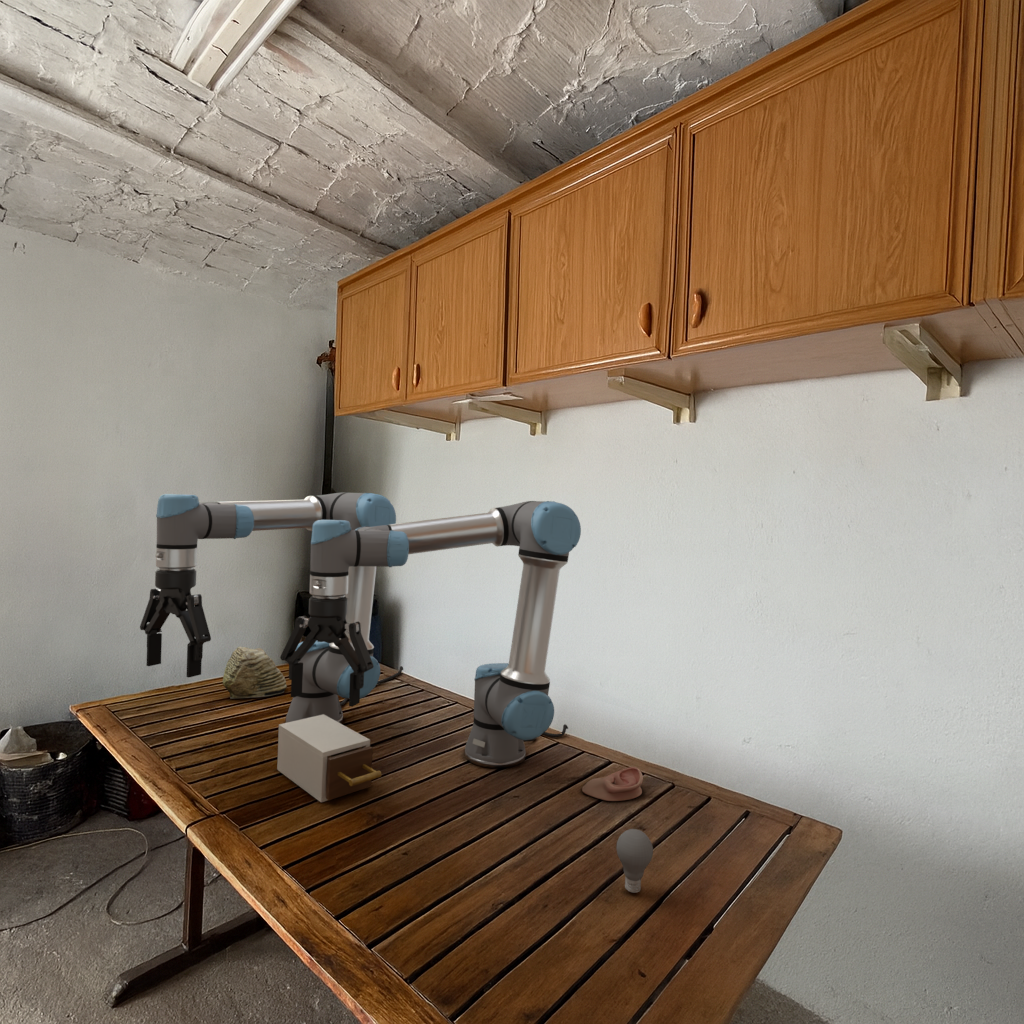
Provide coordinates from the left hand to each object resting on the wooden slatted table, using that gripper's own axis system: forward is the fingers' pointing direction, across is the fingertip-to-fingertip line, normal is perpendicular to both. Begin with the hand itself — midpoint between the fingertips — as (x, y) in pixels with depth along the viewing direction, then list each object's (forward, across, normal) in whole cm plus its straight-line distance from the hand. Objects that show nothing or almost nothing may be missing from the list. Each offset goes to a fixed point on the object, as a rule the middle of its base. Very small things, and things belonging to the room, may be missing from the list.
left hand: (173, 670), depth 132 cm
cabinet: (+26, +20, +23) cm, 40 cm away
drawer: (+25, +26, +21) cm, 42 cm away
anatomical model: (+26, +77, +55) cm, 98 cm away
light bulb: (+26, +93, +21) cm, 99 cm away
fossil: (+26, -40, +53) cm, 71 cm away
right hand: (+4, +30, +13) cm, 33 cm away
